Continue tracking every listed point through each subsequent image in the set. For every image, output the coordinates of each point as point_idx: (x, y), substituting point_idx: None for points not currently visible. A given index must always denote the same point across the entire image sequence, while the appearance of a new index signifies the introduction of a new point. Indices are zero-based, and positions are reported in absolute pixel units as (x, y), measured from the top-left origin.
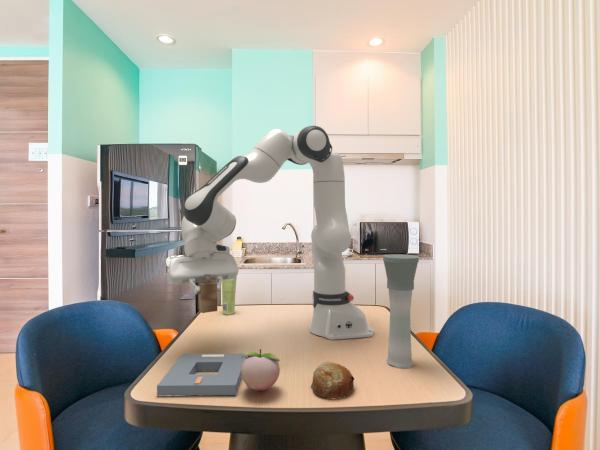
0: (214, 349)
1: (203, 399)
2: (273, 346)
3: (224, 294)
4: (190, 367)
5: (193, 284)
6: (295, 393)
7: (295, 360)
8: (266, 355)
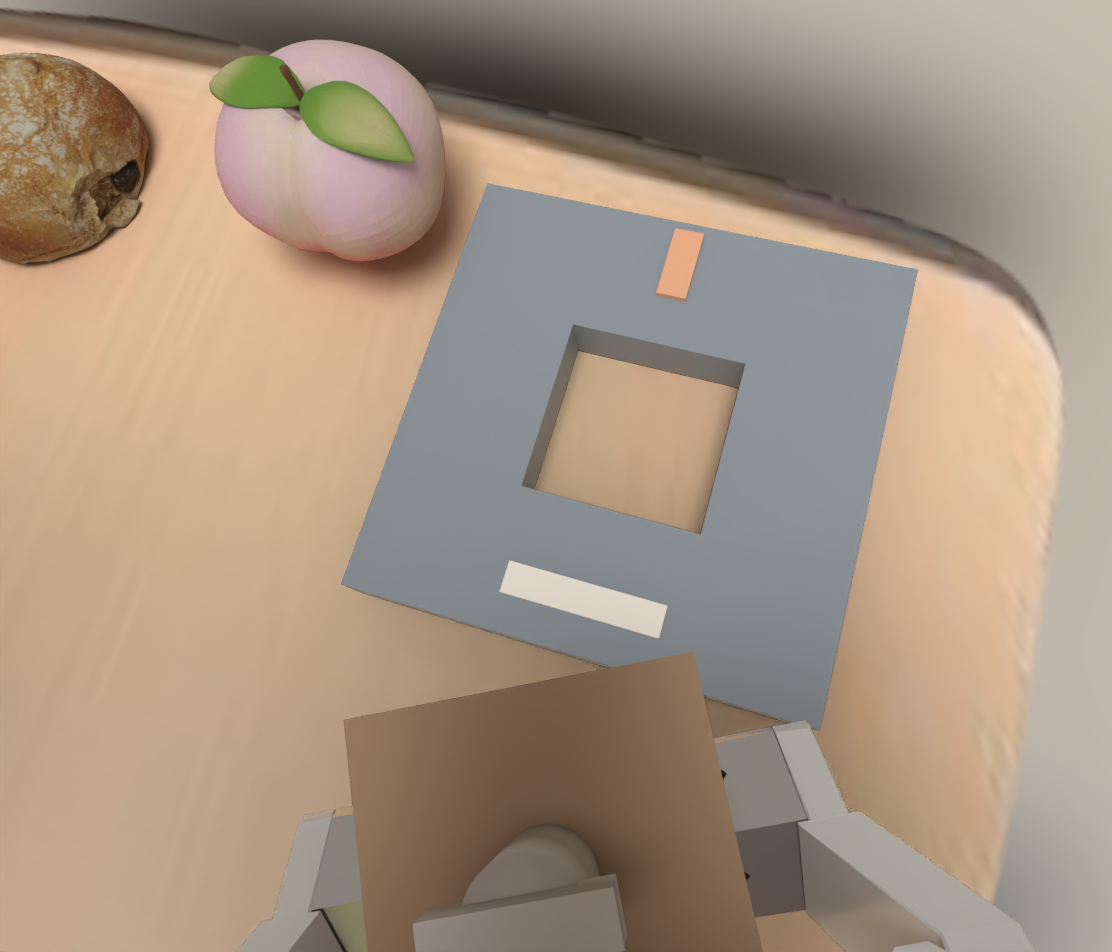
0: None
1: None
2: (102, 829)
3: None
4: (738, 456)
5: (891, 850)
6: None
7: (68, 528)
8: (268, 63)
